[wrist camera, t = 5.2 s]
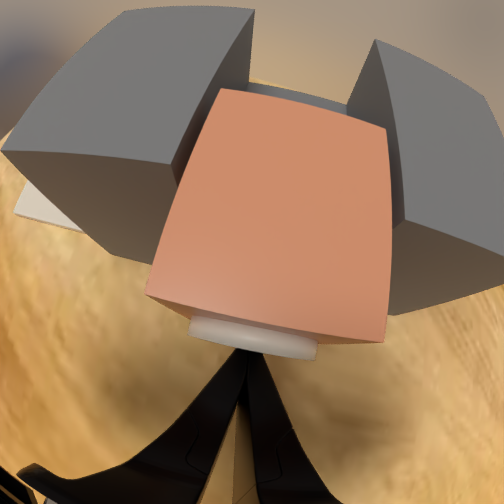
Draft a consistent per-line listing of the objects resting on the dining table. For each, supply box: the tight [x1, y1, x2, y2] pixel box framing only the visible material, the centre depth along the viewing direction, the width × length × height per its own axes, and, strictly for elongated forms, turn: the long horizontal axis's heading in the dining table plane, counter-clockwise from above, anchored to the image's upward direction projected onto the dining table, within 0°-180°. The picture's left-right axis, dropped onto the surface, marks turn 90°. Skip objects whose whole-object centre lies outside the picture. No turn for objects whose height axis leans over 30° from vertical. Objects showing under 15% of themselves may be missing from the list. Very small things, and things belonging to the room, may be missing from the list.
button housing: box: [0, 6, 504, 315], centre depth 13 cm, size 10×20×12 cm, turn 78°
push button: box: [144, 88, 392, 361], centre depth 9 cm, size 7×5×7 cm
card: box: [13, 180, 86, 234], centre depth 19 cm, size 8×11×1 cm
